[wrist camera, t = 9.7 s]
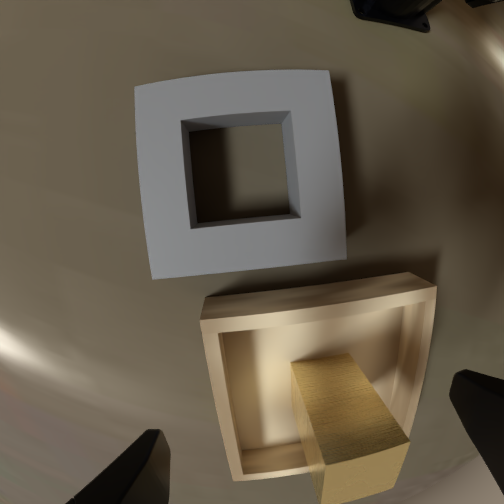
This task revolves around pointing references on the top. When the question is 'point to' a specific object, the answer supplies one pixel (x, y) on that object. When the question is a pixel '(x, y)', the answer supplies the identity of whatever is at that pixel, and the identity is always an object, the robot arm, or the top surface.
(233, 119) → the frame
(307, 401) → the pin
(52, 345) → the top surface
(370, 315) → the tray
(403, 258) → the top surface
